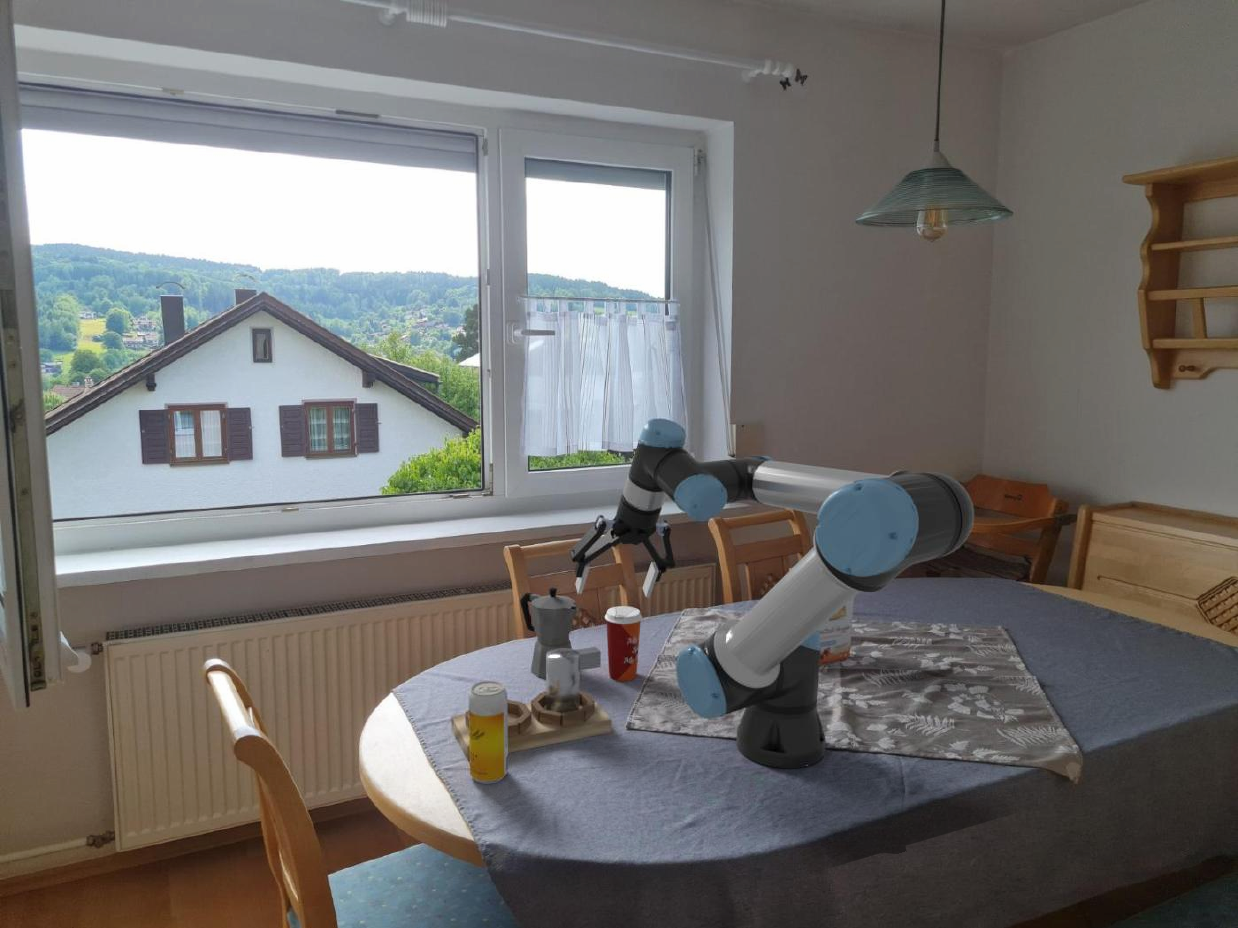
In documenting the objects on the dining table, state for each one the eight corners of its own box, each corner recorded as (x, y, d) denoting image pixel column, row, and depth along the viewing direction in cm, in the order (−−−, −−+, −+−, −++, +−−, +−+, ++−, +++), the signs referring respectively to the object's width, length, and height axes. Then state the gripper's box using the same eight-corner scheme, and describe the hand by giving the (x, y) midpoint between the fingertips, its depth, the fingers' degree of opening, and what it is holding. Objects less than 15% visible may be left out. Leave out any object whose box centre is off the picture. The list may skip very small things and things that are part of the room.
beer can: (471, 766, 141) (470, 680, 139) (508, 765, 142) (508, 679, 140) (468, 786, 136) (466, 696, 133) (507, 784, 136) (506, 695, 134)
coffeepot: (591, 670, 181) (592, 588, 178) (563, 685, 173) (563, 599, 170) (535, 654, 190) (535, 575, 187) (506, 667, 182) (505, 585, 179)
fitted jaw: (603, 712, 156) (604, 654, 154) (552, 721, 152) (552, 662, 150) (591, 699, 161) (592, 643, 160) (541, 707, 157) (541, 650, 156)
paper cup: (637, 685, 174) (638, 618, 172) (600, 681, 175) (601, 615, 173) (644, 670, 181) (645, 606, 179) (608, 666, 183) (609, 603, 181)
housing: (611, 732, 154) (611, 708, 153) (467, 760, 143) (467, 735, 143) (586, 705, 165) (586, 682, 164) (451, 729, 154) (451, 705, 153)
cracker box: (799, 669, 183) (804, 574, 179) (782, 659, 188) (787, 567, 185) (851, 659, 188) (857, 567, 185) (834, 649, 194) (839, 560, 190)
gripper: (699, 494, 161) (667, 581, 171) (571, 481, 152) (546, 574, 163) (712, 517, 154) (678, 607, 165) (579, 506, 146) (552, 601, 157)
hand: (612, 591), depth 164 cm, fingers open, 13 cm apart
